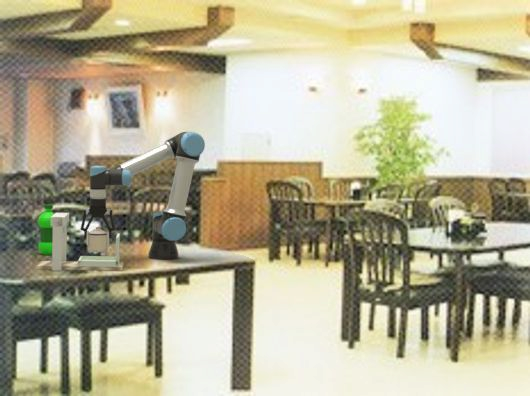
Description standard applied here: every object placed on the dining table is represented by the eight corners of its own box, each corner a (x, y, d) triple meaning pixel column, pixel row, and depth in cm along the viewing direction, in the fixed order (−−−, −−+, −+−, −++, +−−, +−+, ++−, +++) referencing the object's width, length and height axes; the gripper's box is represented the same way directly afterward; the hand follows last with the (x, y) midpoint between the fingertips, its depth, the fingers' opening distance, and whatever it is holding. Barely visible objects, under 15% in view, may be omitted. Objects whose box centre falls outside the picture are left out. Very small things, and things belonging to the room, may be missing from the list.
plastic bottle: (61, 255, 475) (62, 205, 473) (41, 255, 469) (42, 205, 467) (54, 252, 483) (54, 203, 481) (34, 253, 477) (34, 204, 475)
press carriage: (119, 261, 445) (120, 233, 444) (117, 267, 428) (118, 237, 427) (80, 261, 443) (81, 232, 442) (77, 266, 426) (78, 236, 425)
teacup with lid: (111, 251, 451) (111, 226, 450) (97, 253, 444) (98, 228, 443) (93, 248, 458) (93, 225, 457) (79, 250, 450) (79, 226, 449)
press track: (123, 265, 445) (123, 262, 445) (122, 270, 428) (122, 267, 428) (41, 264, 441) (41, 260, 441) (37, 269, 424) (37, 266, 424)
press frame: (68, 263, 446) (69, 212, 444) (63, 270, 422) (64, 217, 420) (55, 263, 445) (56, 212, 443) (49, 270, 421) (50, 217, 419)
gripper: (121, 197, 454) (121, 244, 456) (75, 197, 451) (75, 244, 453) (120, 198, 446) (120, 246, 448) (74, 198, 444) (74, 246, 446)
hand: (97, 245), depth 451 cm, fingers closed on teacup with lid, 9 cm apart
